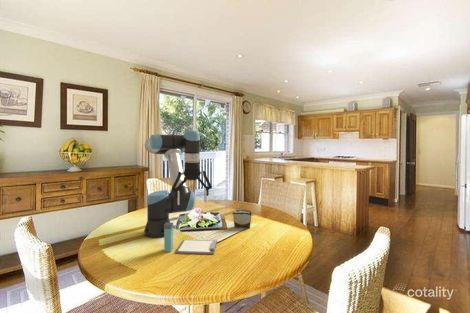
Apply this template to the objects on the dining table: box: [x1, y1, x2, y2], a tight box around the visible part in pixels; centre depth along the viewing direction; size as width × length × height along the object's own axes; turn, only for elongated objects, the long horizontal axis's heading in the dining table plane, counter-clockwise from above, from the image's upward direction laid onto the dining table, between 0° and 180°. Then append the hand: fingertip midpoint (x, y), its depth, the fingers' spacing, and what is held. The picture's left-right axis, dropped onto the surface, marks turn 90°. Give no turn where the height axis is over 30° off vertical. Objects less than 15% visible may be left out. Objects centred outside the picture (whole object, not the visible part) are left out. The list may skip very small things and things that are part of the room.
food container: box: [231, 208, 253, 229], centre depth 146 cm, size 12×6×10 cm, turn 84°
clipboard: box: [174, 239, 218, 256], centre depth 118 cm, size 18×14×2 cm
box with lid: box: [163, 221, 174, 253], centre depth 114 cm, size 3×3×13 cm
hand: (192, 203), depth 122 cm, fingers open, 13 cm apart
